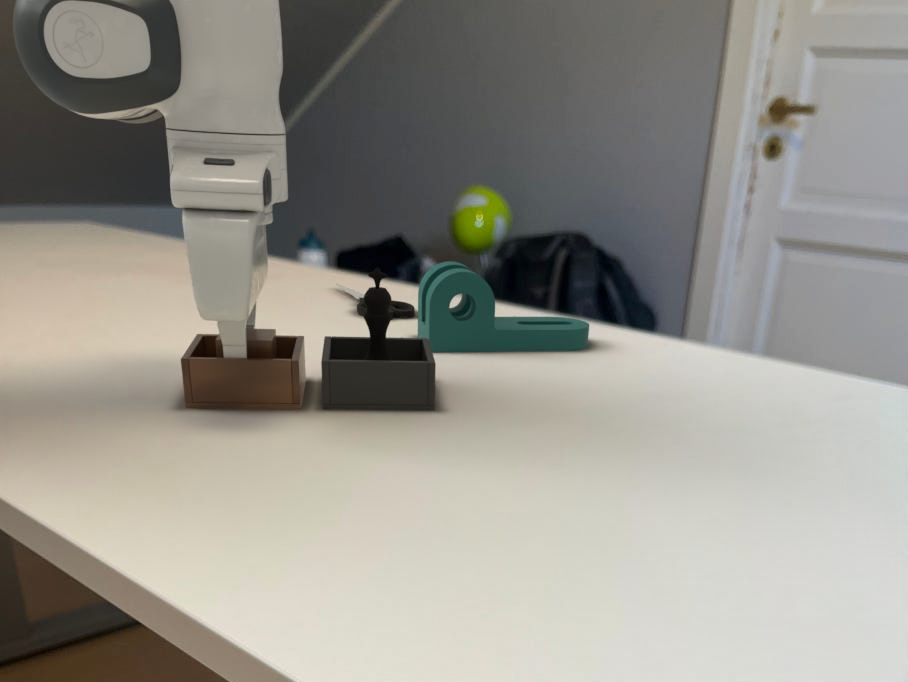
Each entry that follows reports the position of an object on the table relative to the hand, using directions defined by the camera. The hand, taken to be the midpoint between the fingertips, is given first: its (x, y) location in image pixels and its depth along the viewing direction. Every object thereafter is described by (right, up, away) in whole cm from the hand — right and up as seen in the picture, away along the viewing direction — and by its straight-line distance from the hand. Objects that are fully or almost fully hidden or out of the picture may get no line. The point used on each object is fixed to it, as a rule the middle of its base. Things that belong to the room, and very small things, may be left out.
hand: (241, 356), depth 82 cm
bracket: (+23, +8, +23) cm, 33 cm away
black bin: (+11, -3, +3) cm, 12 cm away
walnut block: (0, -2, +1) cm, 3 cm away
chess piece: (+11, -2, +3) cm, 12 cm away
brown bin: (0, -3, +2) cm, 3 cm away
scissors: (+6, +18, +39) cm, 43 cm away
